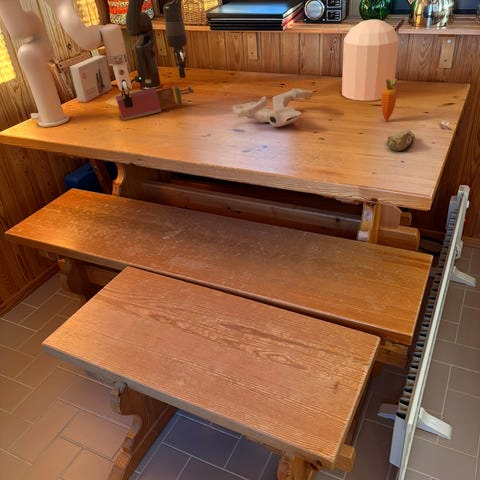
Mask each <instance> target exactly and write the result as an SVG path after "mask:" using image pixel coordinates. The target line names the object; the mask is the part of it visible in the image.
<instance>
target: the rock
mask: <svg viewBox="0 0 480 480" xmlns="http://www.w3.org/2000/svg"><path fill="white" fill-rule="evenodd" d="M415 139H416V135H415V134H414V132H412V131H411V130H408V129H407V130H404V131H398V132H396V133H394V134H393V135H392V134H391V135H389V136H388V137H387V143H388V145H387V146H388V147H389V149H391V150H392V151H395V152H404V151H406V150H407V148H409V145H410V144H411V143H412V142H413V141H414V140H415Z"/></svg>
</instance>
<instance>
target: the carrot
mask: <svg viewBox="0 0 480 480" xmlns="http://www.w3.org/2000/svg"><path fill="white" fill-rule="evenodd" d="M397 81H398V78H395V80H394V82H393V84H391V82H390V79H386V83H387V85H386V87H387V88H386V89H384V90H383V91H382V98H381V99H380V101H381V102H380V104H381V112H382V113H381V114H382V117H383V119H384V120H385V121H386V122H388V121H389V119H390V118H391V117H392V114H393V112H394V109H395V106H396V101H397V96H398V95H397V94H398V91H397V89H395V85H396V83H397ZM389 85H390V86H389ZM391 85H392V86H391ZM393 86H394V88H393Z"/></svg>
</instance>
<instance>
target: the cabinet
mask: <svg viewBox="0 0 480 480" xmlns="http://www.w3.org/2000/svg"><path fill="white" fill-rule="evenodd" d="M157 91H158V90H157V89H155V88H151V89H147V90H144V89H142V90H139V91H134V92H130V96H131V98H132V102H133V107H129V108H125V104H124V100H123V98H124V97H123V95H121V94H120V95H117V96H115V99H116V100H115V101H116V103H117V107H118V110H119V113H120V118H121V119H122V121H129V120H131V119H136V118H141V117H144V116H149V115H153V114H156V113H160V112H162V109H161V108H162V107H161V108H160V103H159V99H158V95H157Z"/></svg>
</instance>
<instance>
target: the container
mask: <svg viewBox="0 0 480 480" xmlns="http://www.w3.org/2000/svg"><path fill="white" fill-rule="evenodd" d="M399 44H400V37H399V36H398V33H397V32H396V30H395V28H394V27H393V26H392V25H391V24H389V23H388V22H387V21H383V20H381V19H376V18H375V19H374V18H373V19H367V20H362V21H360V22H359V23H358V24H356V25H354V26H353V27H352V28H350V29H349V31H348V32H347V33H346V35H345V37H344V38H343V51H342V77H341V79H342V80H341V95H342V96H343V97H344V98H347V99H349V100H354V101H363V102H364V101H365V102H367V101H379V100H381V98H382V91H383V90H384V89H386V88H387V87H386V85H387V83H386V79H390V82H391V84H393V82H394V80H395V79H396V72H397V63H398V62H397V61H398V52H399ZM389 86H390V85H389ZM391 86H392V85H391ZM393 88H394V89H395V85H394V86H393Z"/></svg>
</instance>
